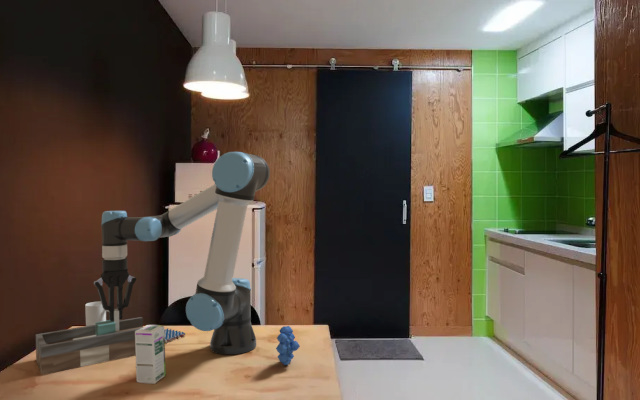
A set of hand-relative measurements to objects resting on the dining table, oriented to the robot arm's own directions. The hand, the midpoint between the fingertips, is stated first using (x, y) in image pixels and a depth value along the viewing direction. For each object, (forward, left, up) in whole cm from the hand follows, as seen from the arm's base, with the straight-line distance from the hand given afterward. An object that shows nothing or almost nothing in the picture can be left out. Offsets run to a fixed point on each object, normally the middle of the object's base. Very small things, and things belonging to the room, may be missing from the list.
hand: (116, 329), depth 151 cm
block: (0, +3, -2) cm, 4 cm away
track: (0, +6, -7) cm, 9 cm away
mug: (+20, +1, -7) cm, 21 cm away
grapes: (-45, -38, -7) cm, 60 cm away
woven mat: (+4, -17, -8) cm, 19 cm away
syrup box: (-30, -2, -7) cm, 31 cm away
